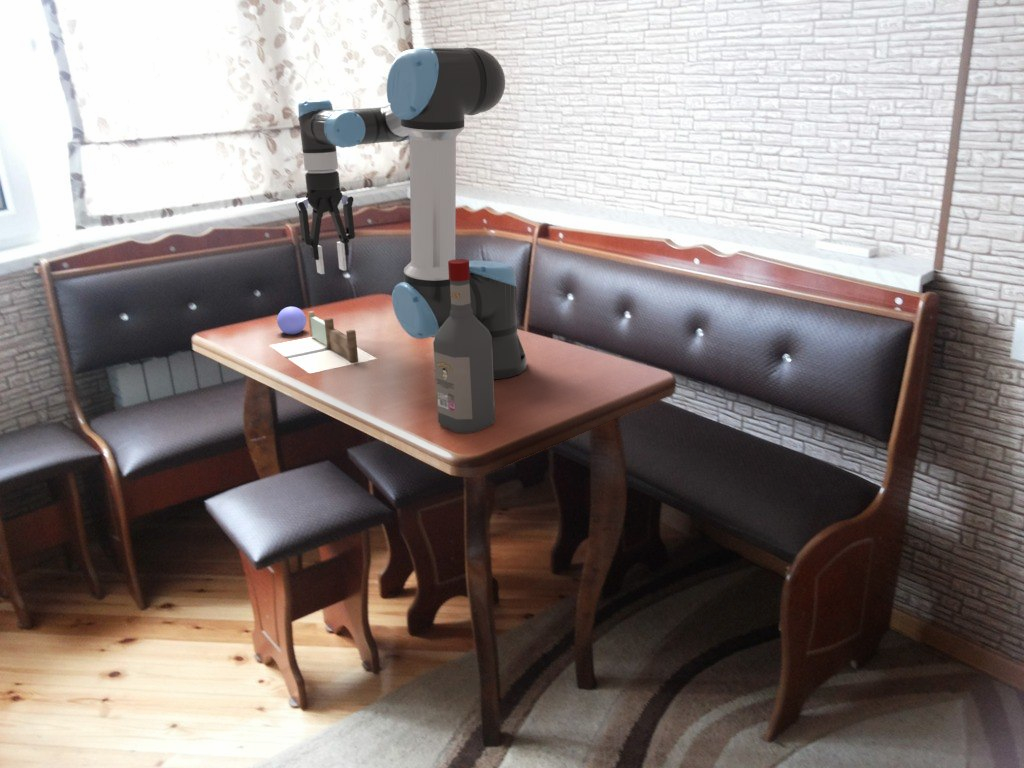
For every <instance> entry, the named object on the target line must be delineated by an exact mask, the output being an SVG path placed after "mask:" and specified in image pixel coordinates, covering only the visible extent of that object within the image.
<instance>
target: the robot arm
mask: <svg viewBox="0 0 1024 768" xmlns="http://www.w3.org/2000/svg"><path fill="white" fill-rule="evenodd" d="M388 71H389V72H388V74H387V75H388V76H387V79H386V97H387V102H388V105H386V106H381V107H372V108H371V107H369V108H350V109H334V108H333V104H332V102H331V101H330V100H328V99H311V100H310V99H307V100H300V101H299V102H298V106H297V108H298V109H297V110H298V118H297V119H298V124H299V132H300V140H301V146H302V147H301V148H302V158H303V165H304V170H305V171H307V172H306V173H305V174H304V176H305V187H306V196H305V198H303V199H301V200H296V201H295V203H294V204H295V206H296V209H297V211H298V218H299V226H300V227H299V228H300V237H301V243H303V244H304V245H307V246H309V247H310V252H311V259H312V260H313V261H315V264H316V271H317V273H318V274H320V275H325V265H324V264H325V263H324V258H323V257H324V256H323V255H324V254H323V246H322V245H319V241H320V234H321V227H322V226H321V225H322V220H323V219H322V218H324V217H323V216H324V214H325V213H329V215H330V216H331V219H332V222H333V226H334V228H335V231H336V233H337V237H338V239H339V241H336V249H337V250H336V251H337V259H338V269H339V270H341V271H343V272H346V271H348V270H347V267H348V266H347V260H346V257H347V256H349V254H350V253H349V242H350V241H351V240H352V239H354V238H355V237H356V235H355V223H354V214H353V204H354V197H353V196H351V195H345V194H343V192H342V191H341V188H340V187H341V185H340V183H341V182H340V174H339V172H338V171H337V169H338V168H339V162H338V155H337V147H339V148H343V149H344V148H353V147H356V146H359V145H368V144H369V145H370V144H379V143H392V142H396V143H398V142H399V143H401V142H404V141H409V188H410V189H409V190H410V191H409V194H410V195H409V199H410V203H409V204H410V205H409V206H410V256H411V257H410V258H411V259H410V262H409V263H408V264H407V265H405V267H404V268H403V281H401V282H399V283H397V284H396V285H395V286H394V288H393V290H392V293H391V301H392V307H393V311H394V315H395V317H396V319H397V321H398V323H399V324H400V327H402V329H403V330H404V332H405V333H406V334H408V335H409V336H410V337H412V338H414V339H417V340H423V339H430V338H435V336H436V332H437V331H438V330H439V329H440V327H441V326H442V325H443V324H444V322H445V321H446V320H447V319H448V318H449V316H450V311H451V291H450V280H449V269H448V261H450V260H455V259H456V208H457V207H456V206H457V205H456V204H457V203H456V202H457V201H456V197H457V196H456V195H457V194H456V190H457V189H456V187H457V186H456V183H457V182H456V181H457V177H456V176H457V175H456V174H457V162H456V161H457V136H458V135H460V133H461V132H462V131H464V129H465V116H475V115H479V114H480V113H486V112H487V111H490V110H491V109H493V108H494V107H496V105H498V103H499V102H500V101H501V99H502V97H503V95H504V92H505V88H506V76H505V73H504V69H503V67H502V66H501V64H500V62H499V60H498V59H497V58H496V57H495V56H494V55H492V53H490V52H488V51H486V50H484V49H481V48H477V47H447V48H446V47H420V48H414V49H412V48H411V49H407V50H404V51H402V52H401V53H400V54H398V55H397V56H396V57H395V59H394V61H393V62H392V64H391V65H390V69H389V70H388ZM340 203H341V204H342V206H343V208H342V209H343V218H344V222H343V221H342V217H341V214H340V209H339V205H340ZM308 205H310V207H311V208H312V212H311V214H312V219H311V221H312V222H311V227H310V223H309V213H308V208H309V206H308ZM343 223H344V224H343ZM469 269H470V279H469V286H470V302H471V309H472V310H473V315H474V316H475V317H476V318H477V319H478V320H479V321H480V322H481V323H482V324H483V325H484V326H485V327H486V328H487V329H488V330H489V332H490V334H491V336H492V356H493V380H501V379H506V378H507V379H508V378H513V377H515V376H517V375H520V374H522V373H523V372H525V371H526V370H527V356H526V353H525V351H524V347H523V345H522V342H521V339H520V337H519V334H518V317H517V313H518V311H517V310H518V309H517V286H518V285H517V281H516V279H517V278H516V272H515V270H514V267H513V266H511V265H509V264H507V263H503V262H499V261H489V260H469ZM524 370H525V371H524Z"/></svg>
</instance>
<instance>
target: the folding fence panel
mask: <svg viewBox="0 0 1024 768" xmlns="http://www.w3.org/2000/svg"><path fill="white" fill-rule="evenodd" d="M307 315H308V316H307V317H308V323H309V331H310V337H314V338H315V339H317V340H319V341H320V342H322V343H324V344H325V345H327V340H326V331H325V322H324V320H323V319H321V318H319V317H317V316H316V312H315V311H313V310H310V311H308V312H307Z"/></svg>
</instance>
